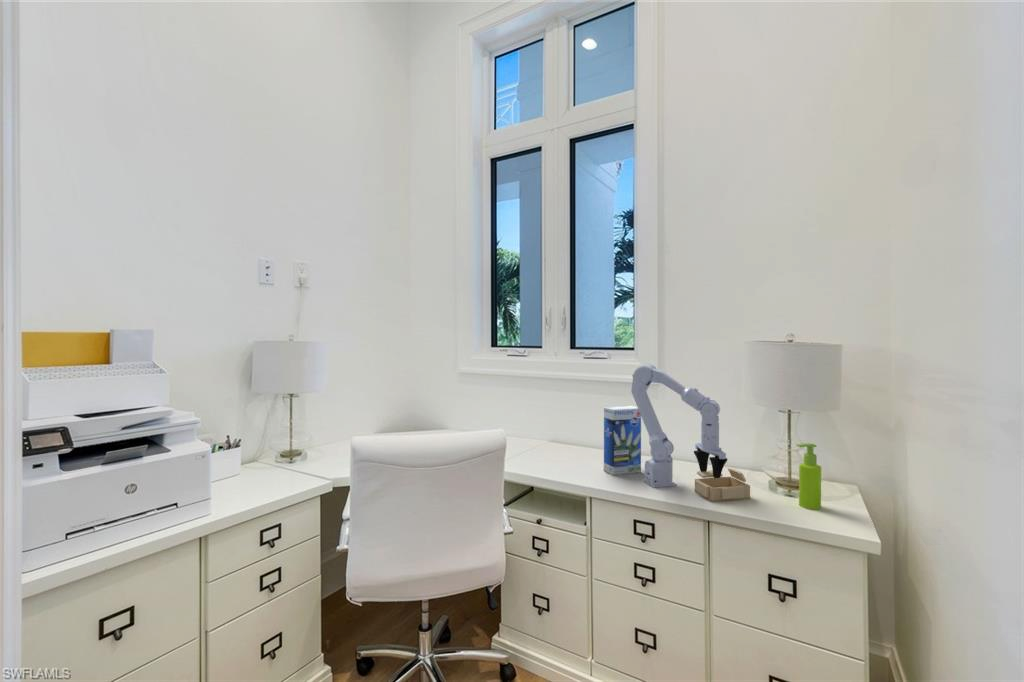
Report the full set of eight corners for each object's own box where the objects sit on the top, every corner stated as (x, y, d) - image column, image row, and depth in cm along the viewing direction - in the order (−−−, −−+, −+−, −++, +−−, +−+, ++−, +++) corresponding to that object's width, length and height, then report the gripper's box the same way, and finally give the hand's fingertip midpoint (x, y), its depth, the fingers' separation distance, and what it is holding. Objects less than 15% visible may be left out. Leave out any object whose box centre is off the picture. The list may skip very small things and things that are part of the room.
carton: (711, 503, 150) (711, 489, 150) (692, 492, 160) (692, 478, 160) (752, 500, 152) (752, 486, 152) (730, 489, 163) (730, 476, 163)
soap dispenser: (791, 502, 150) (792, 441, 150) (813, 503, 150) (813, 441, 149) (802, 509, 144) (803, 446, 144) (825, 509, 144) (825, 446, 143)
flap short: (744, 482, 155) (740, 473, 155) (731, 476, 161) (727, 468, 161) (746, 481, 155) (741, 472, 155) (733, 475, 162) (729, 466, 161)
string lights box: (612, 475, 179) (612, 409, 179) (602, 470, 186) (602, 406, 186) (641, 472, 183) (641, 407, 183) (631, 467, 191) (631, 405, 190)
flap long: (702, 475, 161) (696, 471, 165) (702, 477, 161) (696, 473, 165) (722, 474, 163) (716, 470, 166) (722, 476, 163) (716, 472, 166)
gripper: (734, 439, 154) (733, 479, 155) (707, 430, 169) (707, 467, 169) (715, 440, 153) (715, 481, 153) (690, 431, 167) (690, 468, 168)
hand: (709, 474), depth 161 cm, fingers open, 7 cm apart
